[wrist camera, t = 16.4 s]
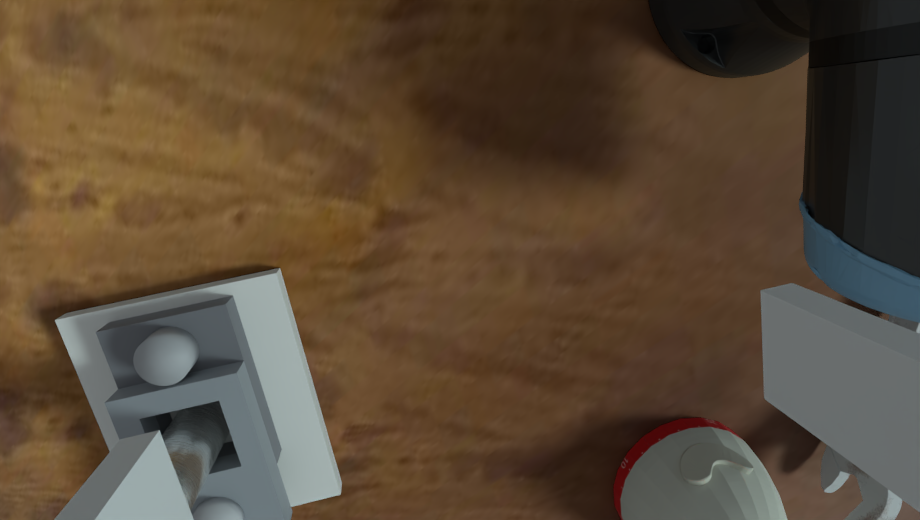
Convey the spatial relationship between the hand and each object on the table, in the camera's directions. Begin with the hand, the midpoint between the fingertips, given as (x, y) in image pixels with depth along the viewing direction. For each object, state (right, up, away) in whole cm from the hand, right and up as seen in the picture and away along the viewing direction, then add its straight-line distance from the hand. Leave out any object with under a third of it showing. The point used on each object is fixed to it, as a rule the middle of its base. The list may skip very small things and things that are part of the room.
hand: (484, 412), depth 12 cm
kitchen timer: (+21, -18, +41) cm, 49 cm away
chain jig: (-20, -9, +32) cm, 39 cm away
